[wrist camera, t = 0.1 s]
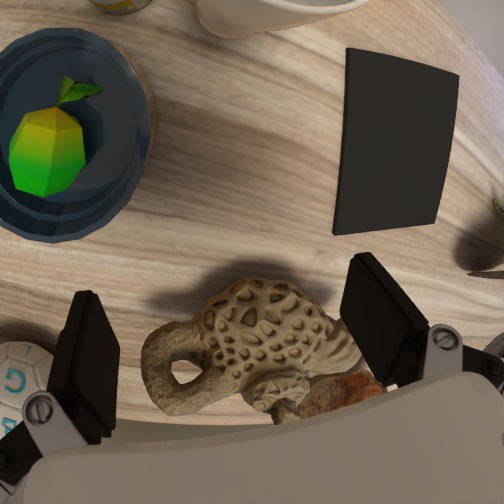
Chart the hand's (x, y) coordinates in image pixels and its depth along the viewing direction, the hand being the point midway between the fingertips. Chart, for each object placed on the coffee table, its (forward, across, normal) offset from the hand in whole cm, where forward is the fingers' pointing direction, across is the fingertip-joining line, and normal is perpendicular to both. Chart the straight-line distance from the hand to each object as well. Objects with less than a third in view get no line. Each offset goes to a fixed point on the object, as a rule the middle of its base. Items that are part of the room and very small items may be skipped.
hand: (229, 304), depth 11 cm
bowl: (+16, +11, -5) cm, 20 cm away
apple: (+16, +11, -5) cm, 20 cm away
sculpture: (+16, -15, +33) cm, 40 cm away
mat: (+16, -19, -1) cm, 25 cm away
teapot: (+16, -3, +15) cm, 22 cm away
